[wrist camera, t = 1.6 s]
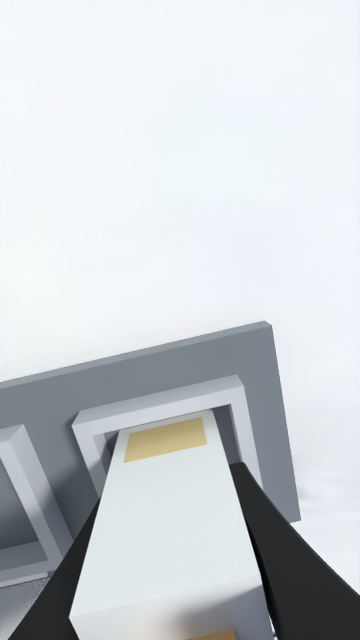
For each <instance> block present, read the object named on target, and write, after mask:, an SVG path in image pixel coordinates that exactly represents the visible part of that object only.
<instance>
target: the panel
mask: <svg viewBox="0 0 360 640" xmlns="http://www.w3.org/2000/svg"><path fill="white" fill-rule="evenodd" d="M210 409H212V410H213V414H214V417H215V421H216V424H217V428H218V431H219V434H220V438H221V441H222V445H223V448H224V452H225V455H226V458H227V462H228V465H229V464H234V463H238V462H244V463H245V464H246V465H247V467H248V469H249V471H250V472H251V474H252V475H253V477H254V478H255V480H256V481H257V483H258V484H259V486H260V487H261V488H262V490H263V491H264V493H265V494H266V495H267V497H268V498H269V499H270V500H271V502H272V503H273V504H274V505H275V507H276V508H277V509H278V510H279V512H280V513H281V514H282V515H283V517H284V518H285V519H286V520H287V521H288V522H289V523H292V522H296V521H300V520H301V517H300V510H299V504H298V497H297V490H296V484H295V477H294V470H293V464H292V457H291V450H290V444H289V437H288V430H287V424H286V417H285V410H284V404H283V397H282V390H281V384H280V377H279V370H278V364H277V357H276V350H275V344H274V337H273V330H272V325H270V324H269V323H267V322H266V321H261V322H257V323H253V324H248V325H244V326H240V327H235V328H231V329H227V330H223V331H218V332H214V333H210V334H206V335H201V336H197V337H193V338H188V339H184V340H180V341H176V342H171V343H167V344H163V345H158V346H154V347H150V348H146V349H141V350H137V351H133V352H129V353H124V354H120V355H116V356H111V357H107V358H103V359H99V360H94V361H90V362H86V363H81V364H77V365H73V366H69V367H64V368H60V369H56V370H51V371H47V372H43V373H39V374H34V375H30V376H26V377H22V378H17V379H13V380H9V381H4V382H0V588H5V587H9V586H14V585H18V584H22V583H27V582H31V581H36V580H40V579H44V578H49V577H52V575H53V574H54V572H55V571H56V569H57V568H58V566H59V565H60V563H61V562H62V560H63V558H64V557H65V555H66V553H67V552H68V550H69V549H70V547H71V545H72V544H73V542H74V540H75V539H76V537H77V535H78V534H79V532H80V530H81V529H82V527H83V525H84V524H85V522H86V520H87V518H88V517H89V515H90V513H91V512H92V510H93V508H94V506H95V505H96V503H97V501H98V500H99V498H100V496H101V495H102V493H103V490H104V486H105V482H106V479H107V475H108V471H109V468H110V464H111V460H112V457H113V453H114V449H115V445H116V442H117V438H118V434H119V431H120V430H123V429H128V428H132V427H136V426H141V425H145V424H149V423H153V422H158V421H162V420H166V419H171V418H175V417H179V416H184V415H188V414H192V413H197V412H201V411H205V410H210Z"/></svg>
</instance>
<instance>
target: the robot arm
mask: <svg viewBox="0 0 360 640" xmlns="http://www.w3.org/2000/svg"><path fill="white" fill-rule="evenodd" d="M229 469H230V472H231V476H232V479H233V483H234V486H235V489H236V493H237V496H238V500H239V503H240V507H241V510H242V513H243V517H244V520H245V524H246V527H247V531H248V534H249V537H250V541H251V544H252V548H253V551H254V555H255V558H256V562H257V565H258V568H259V572H260V576H261V580H262V585H263V590H264V594H265V599H266V604H267V609H268V612H269V615H270V618H271V621H272V624H273V627H274V630H275V633H276V636H277V637H274V640H360V595H359V594H358V593H357V592H356V591H355V590H353V589H352V588H351V587H350V586H349V585H348V584H347V583H346V582H345V581H344V580H343V579H342V578H341V577H340V576H339V575H338V574H337V573H336V572H335V571H334V570H333V569H332V568H331V567H330V566H329V565H328V564H327V563H326V562H325V561H324V560H323V559H322V558H321V557H320V556H319V555H318V554H317V553H316V552H315V551H314V550H313V549H312V548H311V547H310V546H309V545H308V544H307V543H306V541H305V540H304V539H303V538H302V537H301V536H300V535H299V534H298V533H297V531H296V530H295V529H294V528H293V527H292V526H291V525H290V524H289V522H288V521H287V520H286V519H285V518H284V517H283V515H282V514H281V513H280V512H279V510H278V509H277V508H276V507H275V505H274V504H273V503H272V502H271V500H270V499H269V498H268V497H267V495H266V494H265V493H264V491H263V490H262V488H261V487H260V486H259V484H258V483H257V481H256V480H255V478H254V477H253V475H252V474H251V472H250V471H249V469H248V467H247V465H246V464H245V463H244V462H238V463H234V464H229ZM101 497H102V495H101V496H100V498H99V500H98V501H97V503H96V505H95V506H94V508H93V510H92V512H91V513H90V515H89V517H88V518H87V520H86V522H85V524H84V525H83V527H82V529H81V530H80V532H79V534H78V535H77V537H76V539H75V540H74V542H73V544H72V545H71V547H70V549H69V550H68V552H67V553H66V555H65V557H64V558H63V560H62V562H61V563H60V565H59V566H58V568H57V569H56V571H55V572H54V574H53V575H52V577H51V579H50V580H49V582H48V583H47V585H46V586H45V588H44V589H43V591H42V592H41V594H40V595H39V597H38V598H37V600H36V601H35V603H34V604H33V605H32V607H31V608H30V610H29V611H28V613H27V614H26V615H25V617H24V618H23V620H22V621H21V622H20V624H19V625H18V626H17V628H16V629H15V631H14V632H13V633H12V635H11V636H10V637H9V639H8V640H79V637H78V635H77V633H76V631H75V629H74V627H73V625H72V623H71V621H70V619H69V616H70V612H71V608H72V604H73V601H74V597H75V593H76V590H77V586H78V582H79V579H80V575H81V571H82V567H83V564H84V560H85V556H86V553H87V549H88V545H89V542H90V538H91V534H92V530H93V527H94V523H95V519H96V516H97V512H98V508H99V505H100V501H101Z"/></svg>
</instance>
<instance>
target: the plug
mask: <svg viewBox="0 0 360 640" xmlns="http://www.w3.org/2000/svg"><path fill="white" fill-rule="evenodd" d="M69 619H70V621H71V623H72V625H73V627H74V629H75V631H76V633H77V635H78V637H79V640H274V637H273V632H272V628H271V623H270V618H269V613H268V609H267V604H266V599H265V594H264V590H263V585H262V580H261V576H260V572H259V568H258V565H257V562H256V558H255V555H254V551H253V548H252V544H251V541H250V537H249V534H248V531H247V527H246V524H245V520H244V517H243V513H242V510H241V507H240V503H239V500H238V496H237V493H236V489H235V486H234V483H233V479H232V476H231V472H230V469H229V465H228V462H227V458H226V455H225V452H224V448H223V445H222V441H221V438H220V434H219V431H218V428H217V424H216V421H215V417H214V414H213V410H212V409H210V410H205V411H201V412H197V413H192V414H188V415H184V416H179V417H175V418H171V419H166V420H162V421H158V422H153V423H149V424H145V425H141V426H136V427H132V428H128V429H123V430H120V431H119V434H118V438H117V442H116V445H115V449H114V453H113V457H112V460H111V464H110V468H109V471H108V475H107V479H106V482H105V486H104V490H103V493H102V497H101V501H100V505H99V508H98V512H97V516H96V519H95V523H94V527H93V530H92V534H91V538H90V542H89V545H88V549H87V553H86V556H85V560H84V564H83V567H82V571H81V575H80V579H79V582H78V586H77V590H76V593H75V597H74V601H73V604H72V608H71V612H70V616H69Z"/></svg>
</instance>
